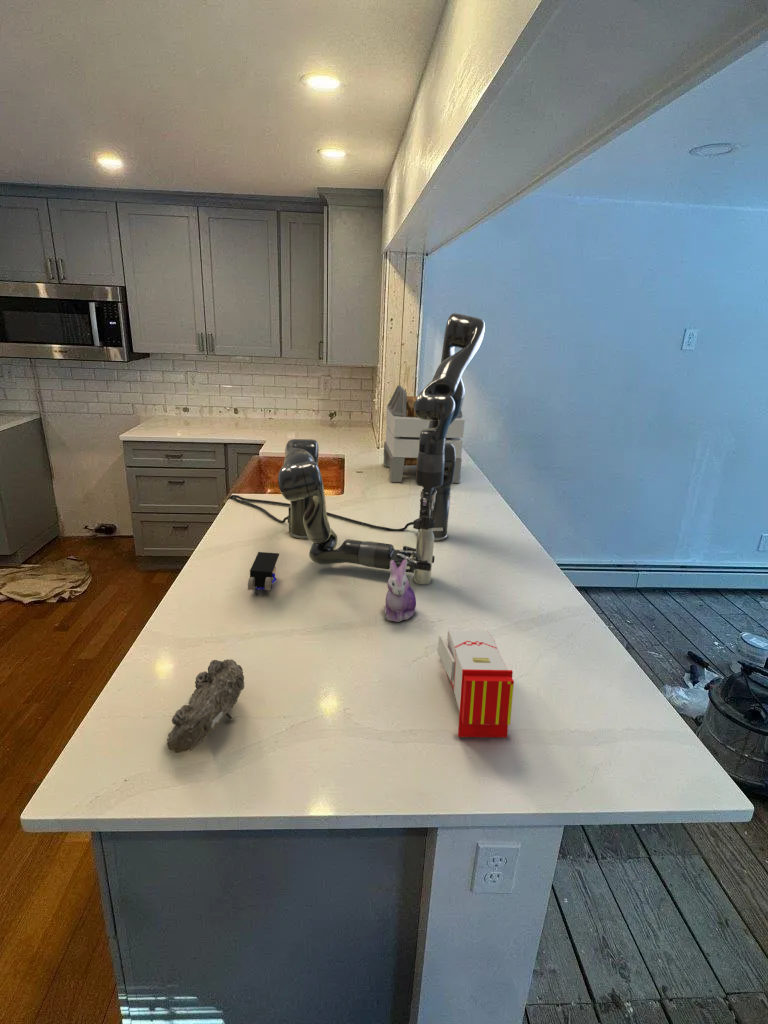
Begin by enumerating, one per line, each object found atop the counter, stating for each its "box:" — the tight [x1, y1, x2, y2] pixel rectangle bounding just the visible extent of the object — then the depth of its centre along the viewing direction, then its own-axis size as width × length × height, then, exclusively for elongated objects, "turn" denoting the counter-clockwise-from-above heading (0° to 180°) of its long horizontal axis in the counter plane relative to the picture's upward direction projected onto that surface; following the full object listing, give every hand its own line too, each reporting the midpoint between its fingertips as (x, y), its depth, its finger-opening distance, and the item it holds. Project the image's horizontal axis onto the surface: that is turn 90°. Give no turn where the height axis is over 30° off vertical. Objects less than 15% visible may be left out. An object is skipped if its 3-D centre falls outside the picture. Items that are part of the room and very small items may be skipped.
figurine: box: [384, 559, 417, 623], centre depth 145 cm, size 9×10×15 cm
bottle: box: [413, 528, 435, 585], centre depth 163 cm, size 5×5×18 cm
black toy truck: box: [247, 551, 280, 596], centre depth 158 cm, size 7×8×15 cm
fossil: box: [166, 658, 245, 754], centre depth 106 cm, size 22×10×15 cm
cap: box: [418, 517, 435, 529], centre depth 160 cm, size 4×4×2 cm
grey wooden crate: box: [383, 384, 465, 484], centre depth 268 cm, size 34×33×41 cm
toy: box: [437, 628, 515, 738], centre depth 117 cm, size 12×13×30 cm
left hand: (432, 563), depth 164 cm, fingers closed on bottle, 5 cm apart
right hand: (426, 525), depth 160 cm, fingers closed on cap, 4 cm apart
